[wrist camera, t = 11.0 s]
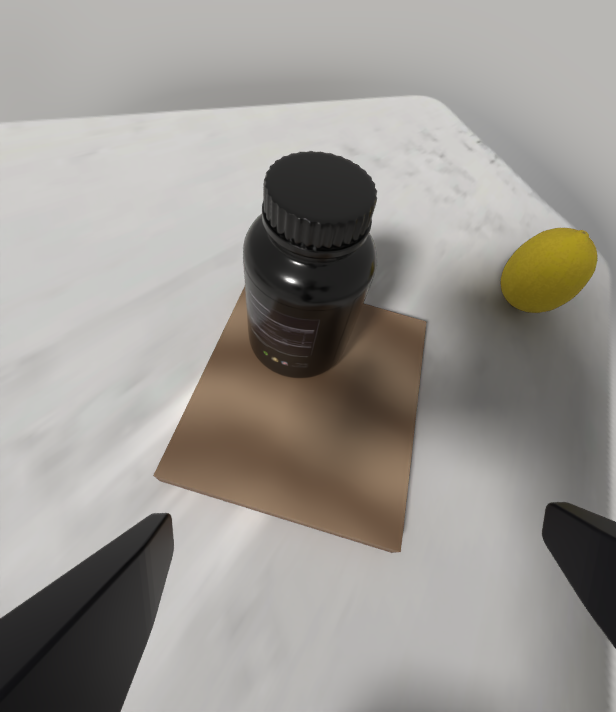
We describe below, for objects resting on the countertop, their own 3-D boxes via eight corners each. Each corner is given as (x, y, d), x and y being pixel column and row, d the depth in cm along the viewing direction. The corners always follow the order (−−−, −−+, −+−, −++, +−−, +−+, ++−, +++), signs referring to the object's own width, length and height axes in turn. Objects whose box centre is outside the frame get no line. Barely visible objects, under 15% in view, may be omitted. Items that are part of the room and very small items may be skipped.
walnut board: (391, 552, 20) (400, 552, 19) (159, 480, 21) (153, 475, 19) (418, 332, 28) (426, 321, 27) (252, 284, 29) (252, 271, 28)
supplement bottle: (276, 286, 27) (288, 118, 17) (358, 324, 26) (423, 171, 16) (227, 354, 24) (205, 194, 13) (319, 400, 23) (371, 268, 13)
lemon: (524, 278, 33) (594, 205, 26) (555, 327, 31) (641, 260, 24) (472, 282, 32) (531, 207, 25) (499, 333, 29) (573, 264, 23)
